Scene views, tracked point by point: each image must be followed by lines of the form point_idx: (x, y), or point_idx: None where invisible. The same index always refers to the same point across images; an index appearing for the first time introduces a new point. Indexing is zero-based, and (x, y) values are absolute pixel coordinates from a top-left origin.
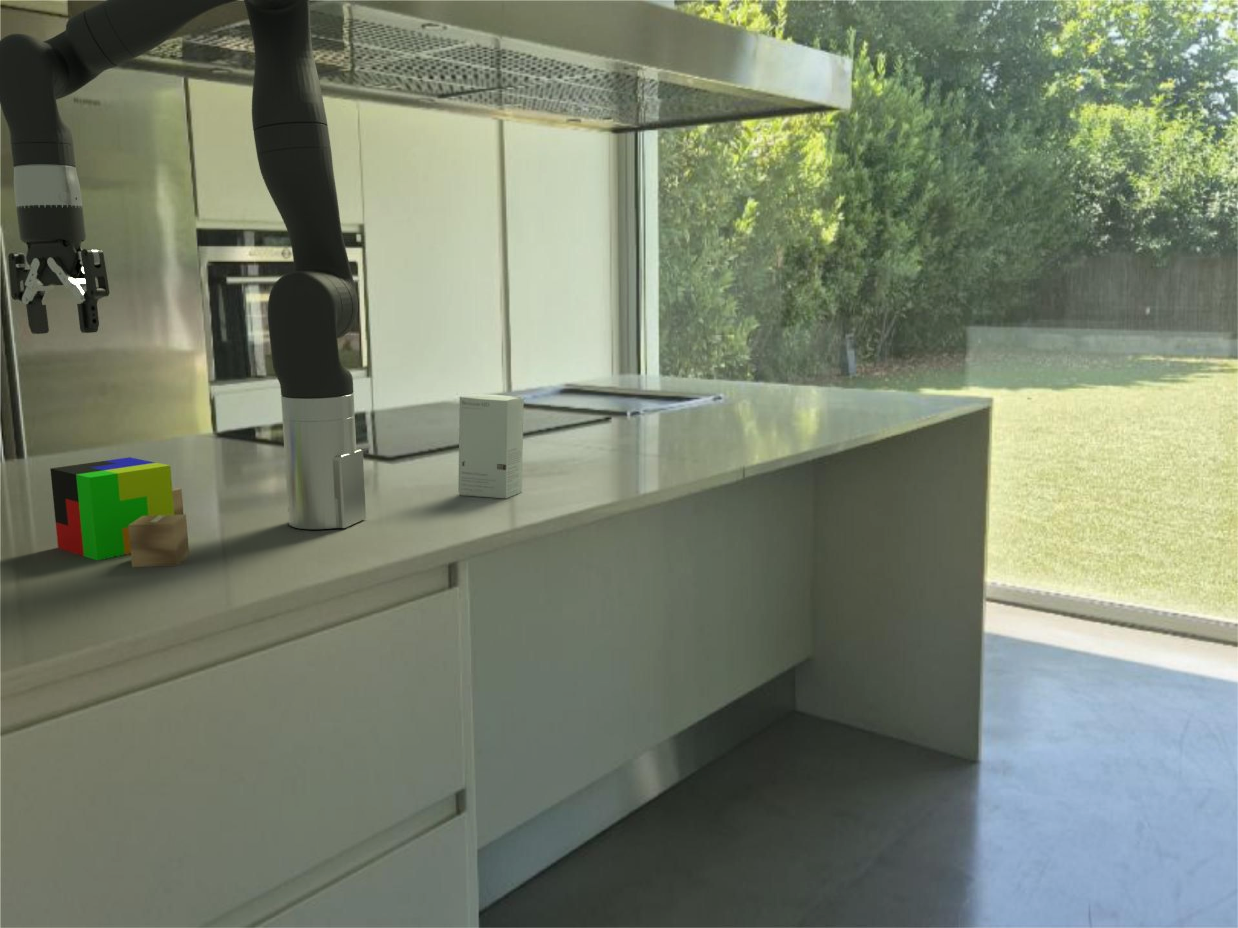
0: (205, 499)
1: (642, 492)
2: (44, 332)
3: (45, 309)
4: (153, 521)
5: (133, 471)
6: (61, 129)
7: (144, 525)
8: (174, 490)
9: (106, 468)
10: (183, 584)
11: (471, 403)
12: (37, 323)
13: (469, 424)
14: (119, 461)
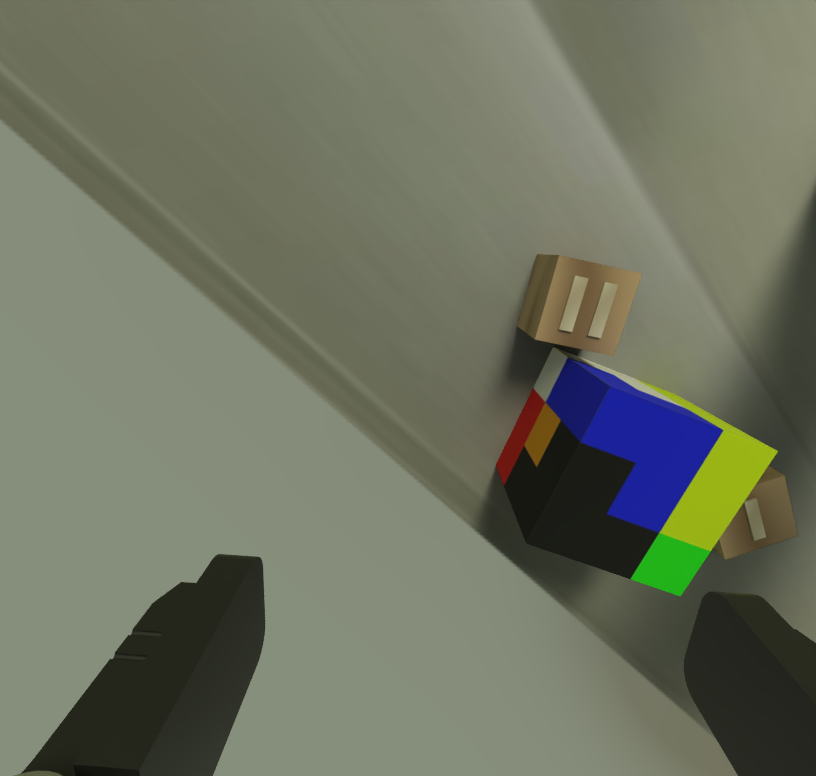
0: (497, 9)
1: None
2: (261, 583)
3: (175, 721)
4: (760, 538)
5: (728, 522)
6: None
7: (750, 551)
8: (635, 292)
9: (651, 515)
10: (806, 566)
11: None
12: (235, 682)
13: None
14: (623, 439)
